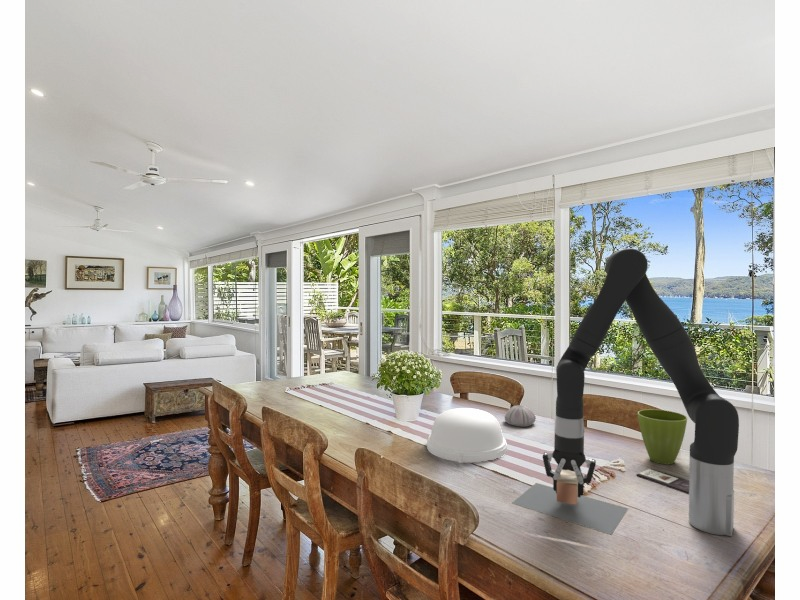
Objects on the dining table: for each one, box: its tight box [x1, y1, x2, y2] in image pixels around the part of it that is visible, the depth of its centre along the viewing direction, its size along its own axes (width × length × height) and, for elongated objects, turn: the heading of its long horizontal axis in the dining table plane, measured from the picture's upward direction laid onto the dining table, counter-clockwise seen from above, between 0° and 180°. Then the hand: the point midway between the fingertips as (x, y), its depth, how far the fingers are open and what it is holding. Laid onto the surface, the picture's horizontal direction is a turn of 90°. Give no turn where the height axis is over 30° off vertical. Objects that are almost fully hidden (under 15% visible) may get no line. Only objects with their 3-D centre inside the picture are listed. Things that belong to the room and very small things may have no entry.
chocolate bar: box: [636, 467, 689, 495], centre depth 142 cm, size 9×1×18 cm
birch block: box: [557, 470, 578, 505], centre depth 126 cm, size 5×5×12 cm
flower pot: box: [637, 408, 688, 465], centre depth 160 cm, size 15×15×16 cm
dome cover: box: [426, 407, 508, 464], centre depth 173 cm, size 32×30×14 cm
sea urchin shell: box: [504, 404, 537, 428], centre depth 204 cm, size 13×14×8 cm
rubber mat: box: [511, 482, 630, 536], centre depth 126 cm, size 26×17×1 cm, turn 51°
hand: (568, 493), depth 126 cm, fingers closed on birch block, 5 cm apart
